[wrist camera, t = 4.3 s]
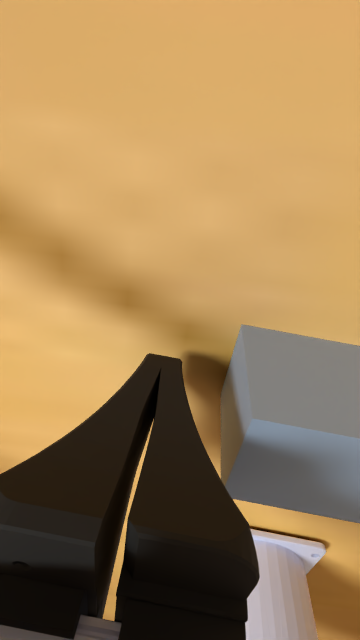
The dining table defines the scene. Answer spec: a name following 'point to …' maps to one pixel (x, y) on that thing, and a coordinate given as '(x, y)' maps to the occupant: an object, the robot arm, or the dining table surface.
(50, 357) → the dining table surface
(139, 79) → the dining table surface
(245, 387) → the light blue block
